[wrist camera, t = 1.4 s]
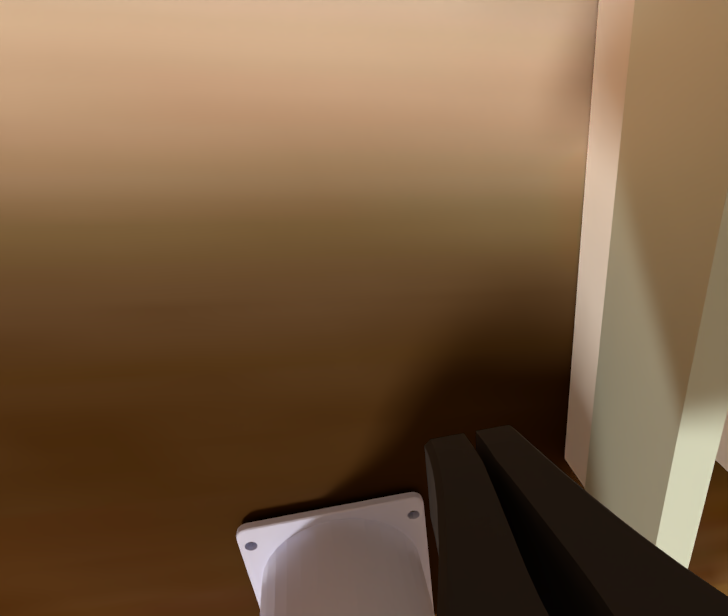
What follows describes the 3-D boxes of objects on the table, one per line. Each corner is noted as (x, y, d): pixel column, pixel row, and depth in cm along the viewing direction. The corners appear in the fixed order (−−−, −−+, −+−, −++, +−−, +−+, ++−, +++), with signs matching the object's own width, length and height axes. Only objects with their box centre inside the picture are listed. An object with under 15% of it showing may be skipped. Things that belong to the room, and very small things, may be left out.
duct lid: (649, 723, 14) (620, 718, 14) (602, 513, 20) (582, 511, 20) (926, -382, 5) (837, -357, 5) (686, -154, 11) (649, -146, 11)
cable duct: (714, 429, 23) (770, 479, 20) (564, 458, 23) (601, 512, 20) (852, -141, 14) (984, -187, 11) (606, -111, 14) (685, -153, 11)
